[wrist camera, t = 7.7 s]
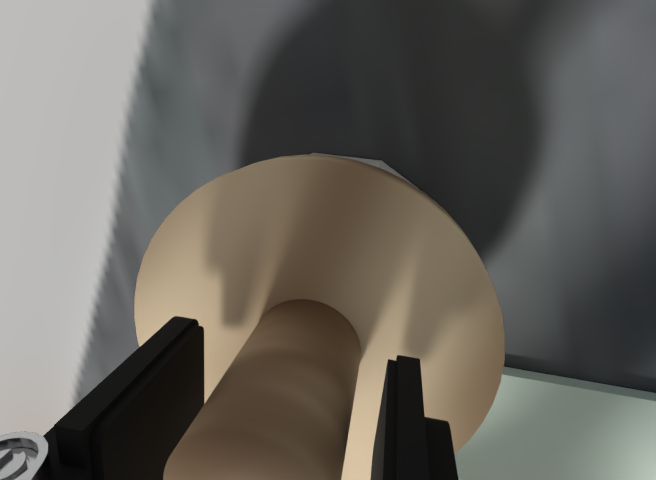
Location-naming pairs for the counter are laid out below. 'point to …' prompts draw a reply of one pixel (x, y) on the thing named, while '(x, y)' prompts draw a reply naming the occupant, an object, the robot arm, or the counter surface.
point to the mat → (562, 432)
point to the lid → (318, 315)
